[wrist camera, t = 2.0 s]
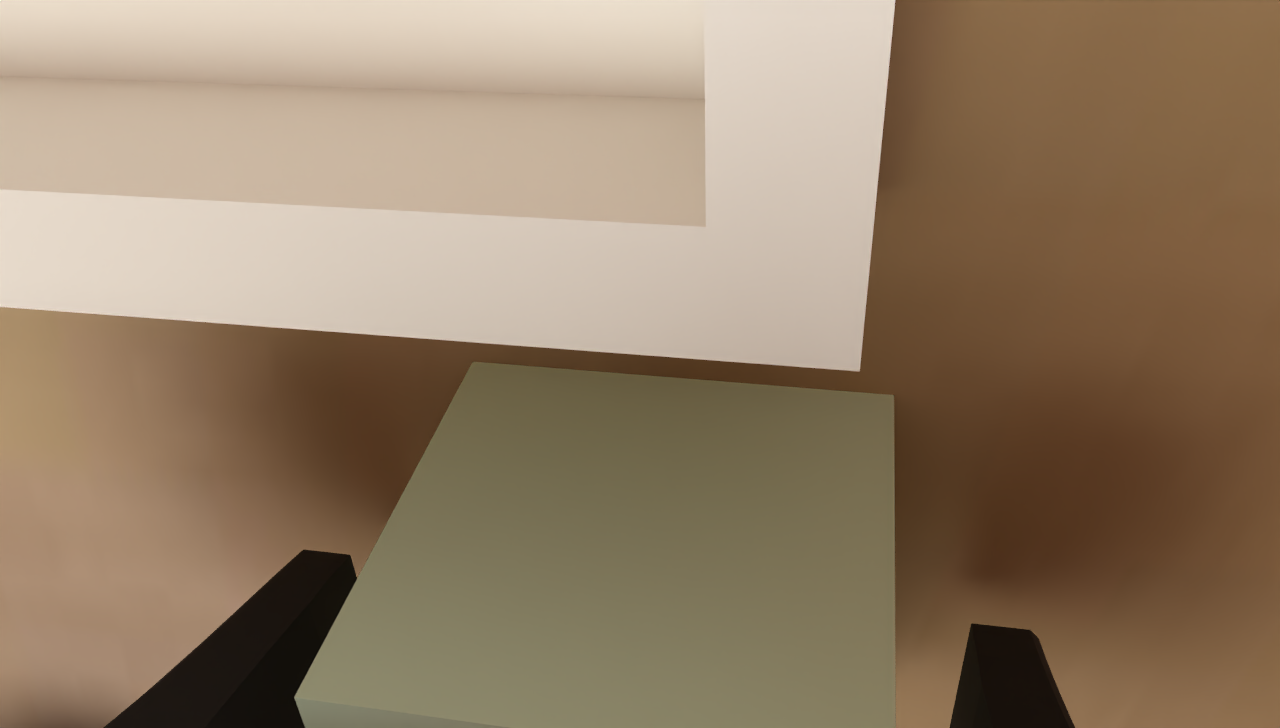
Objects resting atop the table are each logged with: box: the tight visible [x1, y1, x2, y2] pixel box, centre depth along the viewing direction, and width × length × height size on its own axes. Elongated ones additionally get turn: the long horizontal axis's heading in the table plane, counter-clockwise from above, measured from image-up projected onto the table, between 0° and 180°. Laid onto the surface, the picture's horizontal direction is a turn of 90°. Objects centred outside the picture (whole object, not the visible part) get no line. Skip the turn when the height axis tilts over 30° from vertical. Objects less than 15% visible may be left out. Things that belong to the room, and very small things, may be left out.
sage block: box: [294, 362, 896, 728], centre depth 12 cm, size 5×5×5 cm
